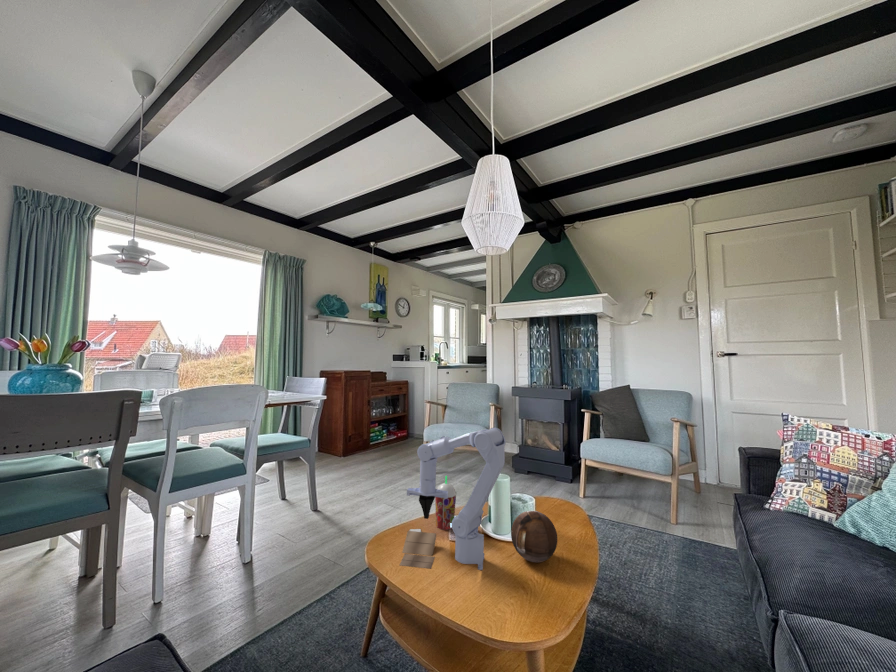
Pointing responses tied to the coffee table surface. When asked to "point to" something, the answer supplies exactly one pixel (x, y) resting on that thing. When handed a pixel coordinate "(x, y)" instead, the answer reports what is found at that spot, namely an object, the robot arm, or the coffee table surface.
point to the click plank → (419, 543)
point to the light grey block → (416, 530)
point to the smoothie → (445, 506)
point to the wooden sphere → (534, 536)
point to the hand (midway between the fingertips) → (426, 517)
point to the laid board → (417, 561)
